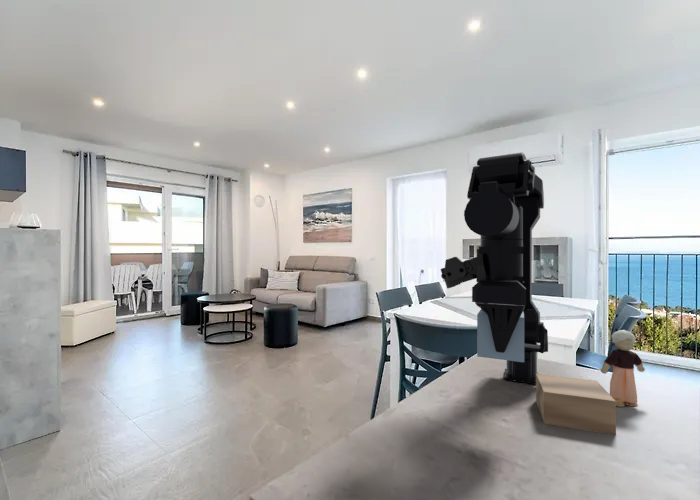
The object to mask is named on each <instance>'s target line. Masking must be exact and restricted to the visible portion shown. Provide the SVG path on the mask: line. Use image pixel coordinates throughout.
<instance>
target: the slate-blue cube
mask: <svg viewBox="0 0 700 500" xmlns="http://www.w3.org/2000/svg"><path fill="white" fill-rule="evenodd" d="M476 316H477V317H476V319H477V322H476V328H477V329H476V331H477V333H476V335H477V337H476V338H477V339H476V348H477V349H476V352H477V353H476V357H479V358H486V359H495V360H503V361H507V360H509V361H517V362H524V312H522V314H521V316H520V319H519V321H518V323H517V325H516V327H515V330H514V332H513V334H512V336H511V339H510V341H509V343H508V346H507V348H506V350H505V352H504V353H501V352H497V351H496V349H495V345H494V340H493V336H492V332H491V327H490V323H489V319H488V315H487V314H486V313H485V312H484V311H483V310H482V309H481V308H480V310H479V311H478V312H477V315H476Z"/></svg>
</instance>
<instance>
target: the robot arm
mask: <svg viewBox="0 0 700 500" xmlns="http://www.w3.org/2000/svg"><path fill="white" fill-rule="evenodd" d="M544 194H545V193H544V182H543V179H541V178H540V177H539V176H538V175H537V174H536V168H535V166H533V164H532V161H531V160H530V159H527V157H526V155H525V153H524V152H516V153H508V154H502V155H501V154H500V155H493V156H486V157H480V158H478V159H477V161H476V165H474V166H473V167H472V171H471V175H470V179H469V185H468V189H467V195H466V197H467V199H468V202H467V203H466V206H465V209H464V211H463V217H464V221H465V224H466V226H467V228H468V229H469V230H471V231H472V232H473V233H474V234H476V235H479V236H480V246H478V248H477V249H476V256H475V257H473V258H472V257H471V258H470V259H466V260H464V261H463V260H461V259H460V258H459V257H458V256H453V257H450V258H448V259H445V262H444V267H442V268H440V273H441V279H442V280H443V281H444V283H445V285H446V288H447V289H451V288H454V287H456V286H459V285H461V284H463V283H465V282H468V281H469V282H470V281H472V280H475V279H476V284H474V285H473V286H472V288H471V302H472V303H475V305H476V307H479V309H480V310H481V309H482V310H483V311H484V312H485V313H486V314H487V315H488V319H489V323H490V327H491V332H492V336H493V340H494V345H495V349H496V351H497V352H501V353H504V352H505V350H506V348H507V346H508V343H509V341H510V339H511V336H512V334H513V332H514V330H515V327H516V325H517V323H518V321H519V319H520V316H521V314H522V312H524V362H517V361H509V360H506V368H505V369H504V375H503V379H504V380H507V381H511V382H512V381H513V382H520V383H528V384H535V385H536V374H539V373H538V362H537V361H538V353H540V354H544V353H547V352H549V338H548V337H549V336H548V335H549V334H548V329H547V328H546V327H545V325H544V324H545V323H544V322H543V321H541V313H540V311H539V309H538V307H537V306H536V305H535V303H534V301H533V298H532V295H533V293H532V291H533V290H532V287H533V285H532V284H533V283H532V282H533V281H532V280H533V277H532V276H533V275H532V273H533V272H532V270H533V268H532V267H533V265H532V264H533V258H532V257H533V256H532V255H533V253H532V252H533V240H532V239H533V236H532V235H533V230H534V227H535V226H536V225H537V223H538V222H539V220H540V218H541V209H544V207H545V196H544Z"/></svg>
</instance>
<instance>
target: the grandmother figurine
mask: <svg viewBox="0 0 700 500" xmlns="http://www.w3.org/2000/svg"><path fill="white" fill-rule="evenodd" d="M611 339H612V340H611V341H612V342H613V343H614V345H615V347H616V349H613V350H611V352H610V353H609V354H608V355H607V357H606V358H605V359H604V361H603V364H602V367H601V368H600V370H599V371H600V373H602V374H608V372H609V370H610V368H611V367H612V373H611V378H610V380H609V394H610V396H611V397H612V398H613V399H614V400H615V401H616V407H625V405H627V406H629V407H638V393H637V386H636V385H637V384H636V379H635V378H636V377H635V372H634V371H635V369H634V368H635V367H636V369H637V371H638V372H641V373H643V372H645V371H646V369H645V366H644V365H643V361H642V360H643V359H641V358H640V356H639V355H638V354H637V353H636V352H633V351H632V350H633V348H634V345H635V342H636V336H635V335H634V334H633V332H631V331H628V330H626V329H622V330H621V329H619V330H617V331H615V332H613V333H612V335H611Z"/></svg>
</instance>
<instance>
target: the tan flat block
mask: <svg viewBox="0 0 700 500" xmlns="http://www.w3.org/2000/svg"><path fill="white" fill-rule="evenodd" d="M535 402H536V405H537V408H538V410H539V413H540V417H541V419H542V421H543V422H542V423H543V424H546V425H553V426H557V427H563V428H569V429H570V428H571V429H577V430H581V431H588V432H594V433H601V434H606V435H613V436H616V435H617V412H616V411H617V406H616V401H615V400H614V399H613V398H612V397H611V396H610V392H608V391H607V389H605V387H604V386H602V385H601V383H600V382H599V381H598V380H595V379H593V380H592V379H584V378H577V377H569V376H568V377H567V376H561V375H560V376H559V375H551V374H543V373H538V374H536V384H535Z"/></svg>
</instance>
